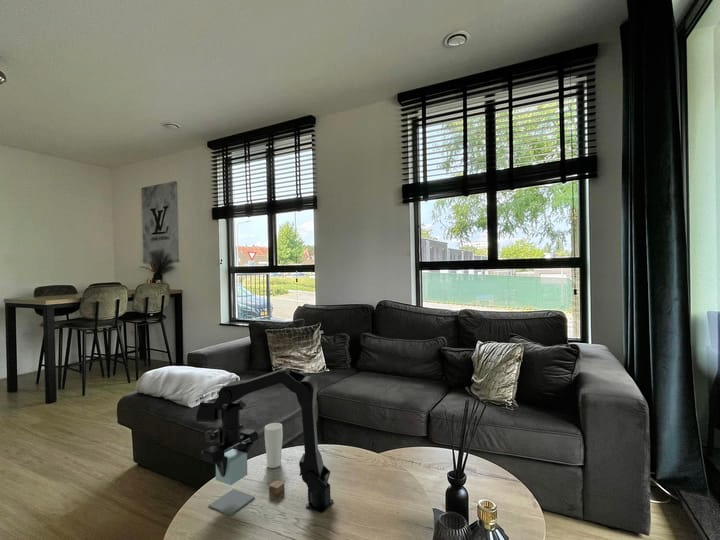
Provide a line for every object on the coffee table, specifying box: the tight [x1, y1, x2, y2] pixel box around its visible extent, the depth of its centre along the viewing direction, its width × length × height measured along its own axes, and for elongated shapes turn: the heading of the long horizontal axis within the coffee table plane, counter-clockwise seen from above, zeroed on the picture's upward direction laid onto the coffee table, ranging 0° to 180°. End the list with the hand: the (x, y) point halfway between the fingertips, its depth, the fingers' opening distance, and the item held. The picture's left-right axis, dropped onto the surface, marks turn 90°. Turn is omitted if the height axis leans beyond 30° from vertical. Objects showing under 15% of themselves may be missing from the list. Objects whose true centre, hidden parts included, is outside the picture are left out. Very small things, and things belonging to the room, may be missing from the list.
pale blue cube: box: [215, 448, 248, 486], centre depth 118 cm, size 7×7×7 cm
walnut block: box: [268, 479, 285, 500], centre depth 121 cm, size 4×4×4 cm
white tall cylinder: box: [264, 422, 284, 469], centre depth 141 cm, size 7×7×15 cm
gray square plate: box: [208, 488, 256, 517], centre depth 118 cm, size 10×10×1 cm
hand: (231, 471), depth 118 cm, fingers closed on pale blue cube, 7 cm apart
